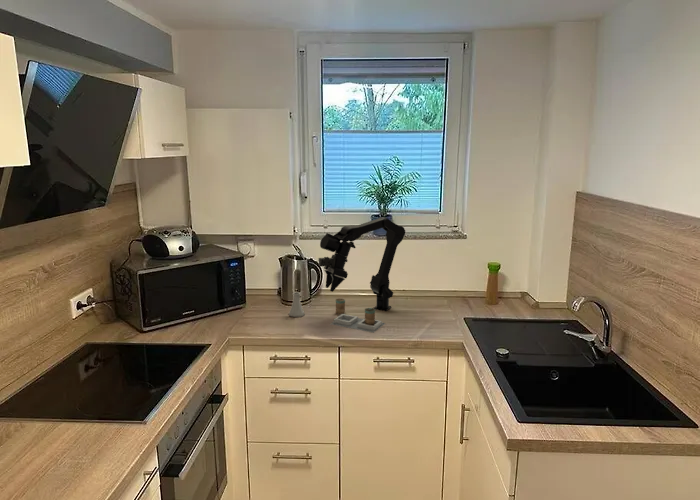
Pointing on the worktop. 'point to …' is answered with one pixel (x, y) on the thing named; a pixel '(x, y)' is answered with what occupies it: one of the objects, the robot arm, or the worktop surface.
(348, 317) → the socket board
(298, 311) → the flask
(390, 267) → the robot arm
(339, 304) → the sleeve
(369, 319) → the seated sleeve
